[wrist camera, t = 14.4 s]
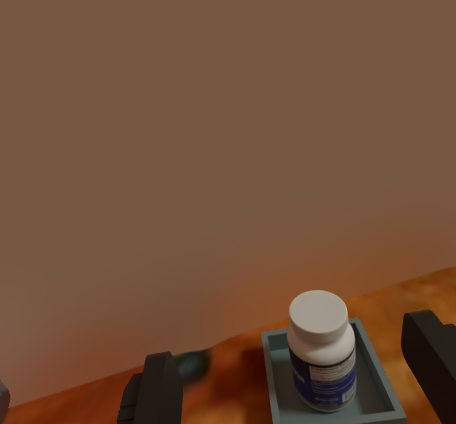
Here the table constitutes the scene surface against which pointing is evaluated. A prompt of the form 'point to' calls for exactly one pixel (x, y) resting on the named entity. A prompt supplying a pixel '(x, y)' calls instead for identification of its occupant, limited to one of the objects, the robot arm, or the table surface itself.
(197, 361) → the table surface
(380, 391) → the tray
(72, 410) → the table surface
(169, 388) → the robot arm
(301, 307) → the pill bottle
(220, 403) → the table surface
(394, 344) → the table surface
